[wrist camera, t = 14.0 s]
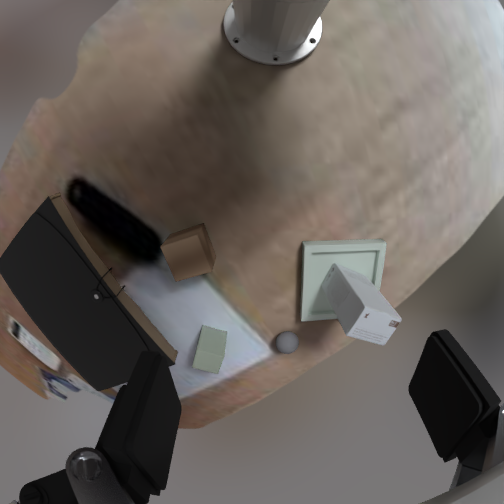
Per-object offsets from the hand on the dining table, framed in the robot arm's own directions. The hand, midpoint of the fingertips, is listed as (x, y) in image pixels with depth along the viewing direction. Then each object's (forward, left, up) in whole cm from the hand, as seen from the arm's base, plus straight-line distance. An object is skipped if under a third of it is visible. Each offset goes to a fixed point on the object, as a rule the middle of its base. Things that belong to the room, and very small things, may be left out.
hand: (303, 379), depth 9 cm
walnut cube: (+6, -10, -30) cm, 33 cm away
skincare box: (+12, +11, -30) cm, 34 cm away
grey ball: (+22, +3, -30) cm, 37 cm away
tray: (+12, +11, -30) cm, 34 cm away
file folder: (+16, -34, -31) cm, 48 cm away
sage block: (+22, -9, -30) cm, 39 cm away
